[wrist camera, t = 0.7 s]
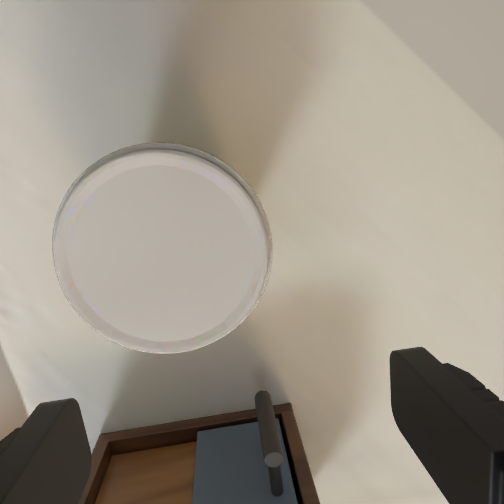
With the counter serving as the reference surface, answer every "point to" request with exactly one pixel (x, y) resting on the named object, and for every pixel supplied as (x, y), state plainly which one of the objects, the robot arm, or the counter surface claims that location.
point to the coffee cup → (162, 248)
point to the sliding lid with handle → (244, 462)
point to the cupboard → (177, 461)
